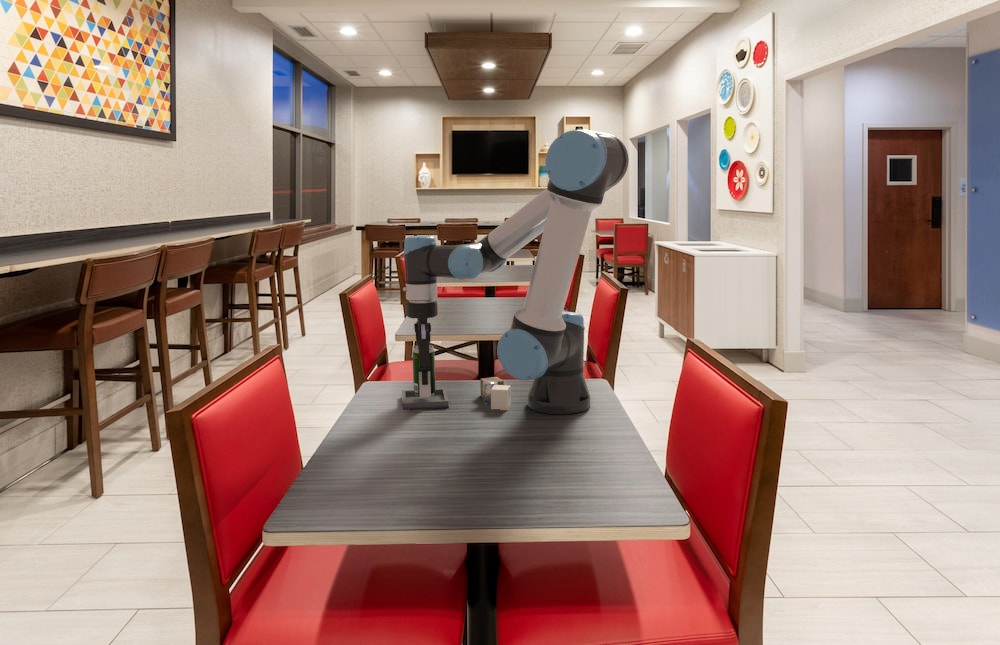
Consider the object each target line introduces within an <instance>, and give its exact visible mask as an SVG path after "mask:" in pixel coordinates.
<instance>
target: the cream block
mask: <svg viewBox="0 0 1000 645" xmlns="http://www.w3.org/2000/svg"><path fill="white" fill-rule="evenodd" d="M511 394H512V390H511V385H510V384H509V385H508V384H504V385H494V386H493V387H492V389H491V404H490V410H493V409H500V410H499V411H508V410H509V408H511V406H510V405H511V404H512V399H511V398H512V395H511Z"/></svg>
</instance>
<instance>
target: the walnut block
mask: <svg viewBox="0 0 1000 645" xmlns="http://www.w3.org/2000/svg"><path fill="white" fill-rule="evenodd" d="M484 381H496V382H498V385H505V383H504V380H503V379H501V378H499V377H498V376H491V377H485V378H484V377H483V378H480V382H479V384H480V396H481V397H482V398H483V382H484Z"/></svg>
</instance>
